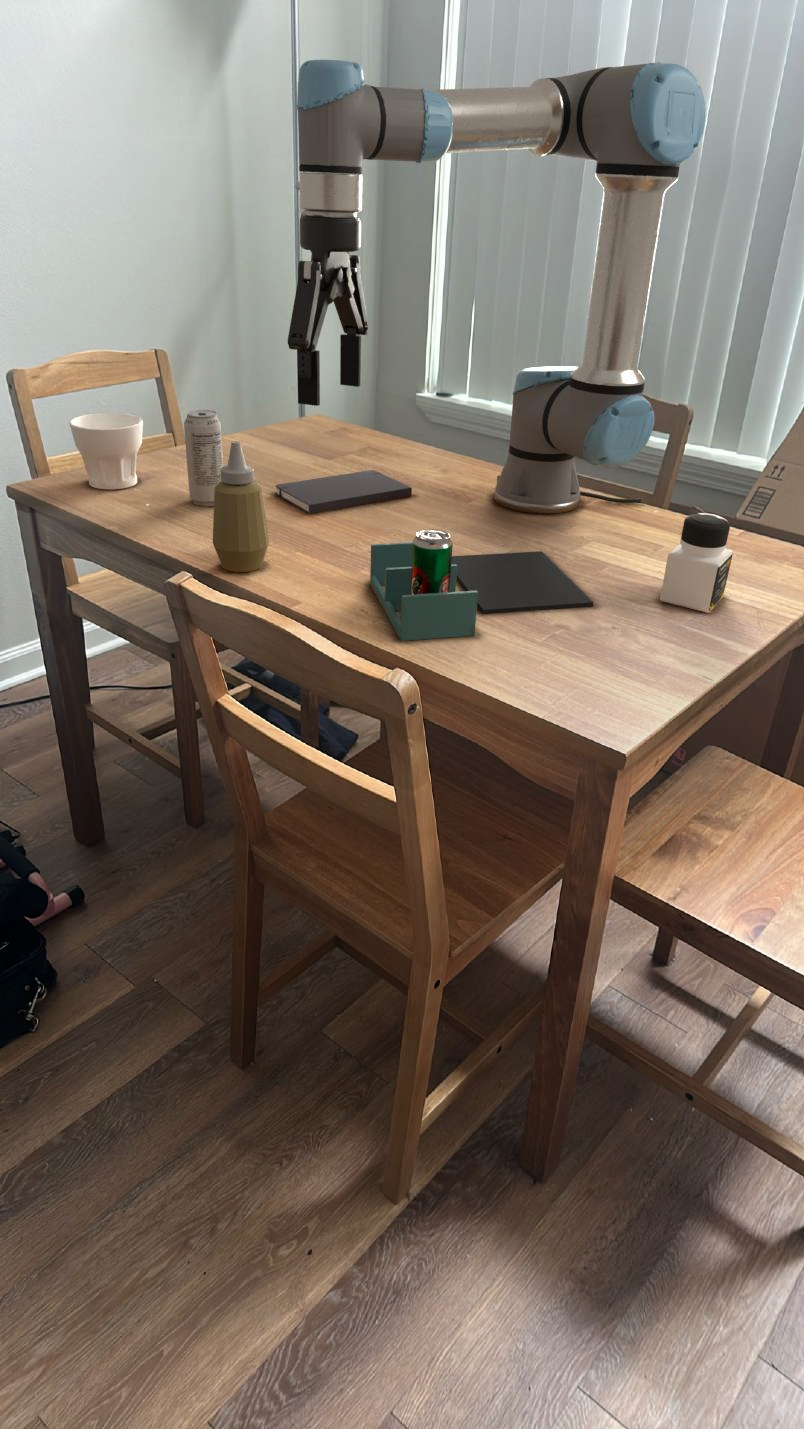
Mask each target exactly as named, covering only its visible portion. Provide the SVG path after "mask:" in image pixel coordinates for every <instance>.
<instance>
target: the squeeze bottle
mask: <svg viewBox="0 0 804 1429" xmlns="http://www.w3.org/2000/svg"><path fill="white" fill-rule="evenodd" d="M220 474H221V482H220V483H218V484H217V485H216V486H215V492H214V506H213V518H212V519H213V520H212V522H213V523H212V545H213V548H214V550H215V552H216V555H217V557H218V559H219V562H220V564H221V567H222V568H223V569H225V571H230V572H235V573H246V572H247V573H248V572H253V571H257V570H258V569H260V568H262V566H263V564H264V560H265V557H266V554H267V551H268V547H269V545H270V539H269V531H268V525H267V518H266V512H265V504H264V503H265V502H264V496H263V491H262V486H261V485H260V484H259V483H258V482H257V481H255V469H254V467H253V466H251V465H247V464H246V459H245V456H244V452H243V448H242V444H241V442H240V441H238V440H233V441H231V443H230V449H229V455H228V461H227V464H226V465H223V467H222V468H221V469H220Z"/></svg>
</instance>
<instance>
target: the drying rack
mask: <svg viewBox="0 0 804 1429" xmlns="http://www.w3.org/2000/svg"><path fill="white" fill-rule="evenodd" d="M412 542H413V541H408V542H406V541H405V542H388V543H387V542H386V543H371V544H370V570H369V571H370V573H369V584H370V587H371V588H372V590H373V592H374V594H375V596H376V598H377V599H378V601H379V603H380V605H381V607H382V609H383V611H384V612H385V614H386V616H387V618H388V620H389V622H390V623H391V626H392V627H393V629H394V630H395V632H396V635H397V636H398V639H399V640H400V641H401V642H405V641H406V642H407V641H421V640H433V639H446V638H447V639H448V638H459V637H460V638H461V637H474V636H475V635H476V623H477V612H478V606H477V599H478V592H477V591H466V590H463V591H456V590H457V579H456V578H457V565H456V564H452V565H451V579H450V592H447V593H431V594H415V595H410V587H411V563H412ZM382 586H384V589H383V587H382ZM399 611H400V617H399V615H398V614H397V612H399Z"/></svg>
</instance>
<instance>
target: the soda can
mask: <svg viewBox="0 0 804 1429" xmlns="http://www.w3.org/2000/svg"><path fill="white" fill-rule="evenodd" d="M411 542H412V563H411V587H410V595H415V594H431V593H447V592H450V579H451V563H452V556H453V546H454V544H453V542H452V540H451V534H450V533H449V532H447V531H445V530H441V529H435V528H432V529H431V528H430V529H429V528H428V529H421V530H419V531H417V532H415V538H414V539H413V540H412V541H411Z"/></svg>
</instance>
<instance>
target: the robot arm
mask: <svg viewBox="0 0 804 1429" xmlns="http://www.w3.org/2000/svg"><path fill="white" fill-rule="evenodd" d="M364 78H365V77H364V70H363V67H362V65H361V64H360V63H358V62H353V61H348V60H339V59H310V60H306V61H304V62H303V63H302V64H301V65H300V67H299V71H298V80H297V100H296V105H295V106H296V110H297V130H298V131H297V132H298V172H299V173H298V178H299V179H298V180H299V181H297V183H296V189H297V190H298V191H299V208H300V209H301V210H302V211H304V214H303V215H301V216H300V218H299V245H300V247H301V248H302V249H303V250H306V251H309V252H310V253H311V256H310V260H299V261H298V265H297V284H296V289H295V296H294V300H293V301H294V302H293V306H292V312H291V318H290V323H289V330H288V335H287V345H288V348H289V350H296V364H297V368H296V369H297V372H296V374H297V404H298V405H308V406H316V407H318V406H320V405H321V393H320V392H321V389H320V388H321V380H320V378H321V374H320V373H321V372H320V371H321V367H320V366H321V365H320V363H321V362H320V361H321V360H320V353H321V352H320V350H316V349H317V346H318V342H319V338H320V335H321V333H322V329H323V326H324V322H325V318H326V314H327V311H328V309H329V305H330V304H332V303H333V304H334V307H335V311H336V313H337V316H338V319H339V321H340V325H341V328H342V330H343V333H342V334H340V337H339V338H340V341H339V344H340V345H339V346H340V348H339V351H340V355H339V357H340V358H339V359H340V362H339V363H340V365H339V367H340V368H339V372H340V373H339V385H340V386H346V387H347V386H348V387H356V388H359V387H361V371H362V370H361V369H362V368H361V365H362V363H361V362H362V360H361V359H362V358H361V357H362V336H367V335H368V334H369V319H368V312H367V307H366V306H367V305H366V300H365V294H364V288H363V282H362V276H361V257H360V255H358V254H350V253H353V252H358V251H359V250H360V249H361V246H362V220H361V219H360V217H357V214H358V213H360V212H361V211H362V210H363V208H362V207H363V197H362V196H363V170H362V169H363V168H362V167H363V160H368V161H374V160H375V161H388V162H389V161H390V162H391V161H392V162H414V163H416V164H422V163H429V162H430V163H431V162H433V163H434V162H437V161H439V160H440V159H443V157H444V156H445V155H446V154H456V153H458V154H459V153H460V154H461V153H476V152H478V153H479V152H495V151H513V150H528V151H529V152H530V154H533V155H534V156H537V157H545V156H556V157H558V156H559V157H567V158H574V159H580V160H585V161H591V162H596V166H595V173H594V174H595V175H594V177H595V178H596V180H597V181H598V182H599V184H600V185H601V187H602V189H603V196H602V202H601V203H602V204H601V212H600V220H599V227H598V235H597V243H596V250H595V256H594V257H595V258H594V265H593V266H594V267H593V272H592V273H593V274H592V280H591V289H590V297H589V305H588V313H587V319H586V328H585V335H584V344H583V352H582V357H581V358H582V359H581V363H580V364H579V366H564V365H563V366H557V365H556V366H537V367H528V368H523V369H522V370H520V371H519V372H518V373H517V374H516V377H515V381H514V382H515V384H514V387H513V388H514V389H513V391H512V407H511V421H510V422H511V423H510V432H509V445H508V454H507V458H506V460H505V463H504V465H503V467H502V470H501V472H500V475H497V477H496V485H495V488H494V500H495V501H496V502H497V503H498V504H499V505H500V506H502V507H505V508H509V509H510V510H515V511H519V512H523V513H532V514H560V513H566V512H570V511H573V510H575V509H577V508H578V507H579V505H580V502H581V501H580V500H581V497H587V498H593V499H597V500H602V501H606V502H610V503H617V504H618V503H620V504H640V503H641V502H642V499H641V498H617V497H610V496H606V495H602V494H597V493H594V492H593V493H592V492H587V491H581V488H580V484H579V479H578V473H577V468H576V461H575V458H578V459H581V460H583V461H586V462H587V463H588V464H590V465H593V466H601V467H604V468H608V469H616V468H620V467H623V466H625V465H627V464H628V463H631V462H632V461H633V460H634V459H635V458H636V457H637V455H638V454H640V453H642V451H643V450H644V448H645V447H646V446H647V444H648V442H649V440H650V438H651V436H652V433H653V430H654V425H655V412H654V409H653V407H652V404H651V403H650V402H649V400H647V399H646V397H644V389H645V384H646V378H645V377H644V374H642V373H641V371H640V369H639V368H638V366H639V358H640V352H641V346H642V339H643V333H644V327H645V321H646V320H645V319H646V314H647V307H648V301H649V294H650V288H651V282H652V275H653V270H654V262H655V257H656V250H657V244H658V236H659V230H660V223H661V218H662V210H663V206H664V198H665V193H666V192H667V191H668V189H670V188H671V187H672V186H673V185H674V184H676V182H677V181H678V179H679V173H680V167H681V164H682V163H684V162H685V161H687V160H688V159H689V158H691V157H692V155H693V154H694V152H695V149H696V148H698V147H699V145H700V142H701V140H702V138H703V134H704V131H705V126H706V102H705V96H704V92H703V89H702V87H701V86H700V85H699V84H698V79H697V77H696V76H695V75H694V73H693V72H692V71H691V70H689V69H688V68H686V67H685V66H683V65H681V64H677V63H667V62H666V63H665V62H660V61H658V62H649V63H640V64H632V65H621V66H620V65H619V66H606V67H599V68H594V69H590V70H585V71H581V72H576V73H573V74H568V75H562V76H557V77H541V78H538V79H536V80H534V81H533V82H532V83H531V84H530V85H529V86H514V87H511V86H510V87H482V88H481V87H479V88H478V87H477V88H475V87H474V88H453V89H452V88H446V89H444V88H443V89H425V88H420V89H419V88H417V89H415V88H403V87H402V88H401V87H386V86H385V87H384V86H373V85H369V84H367V83H365V79H364Z"/></svg>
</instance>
